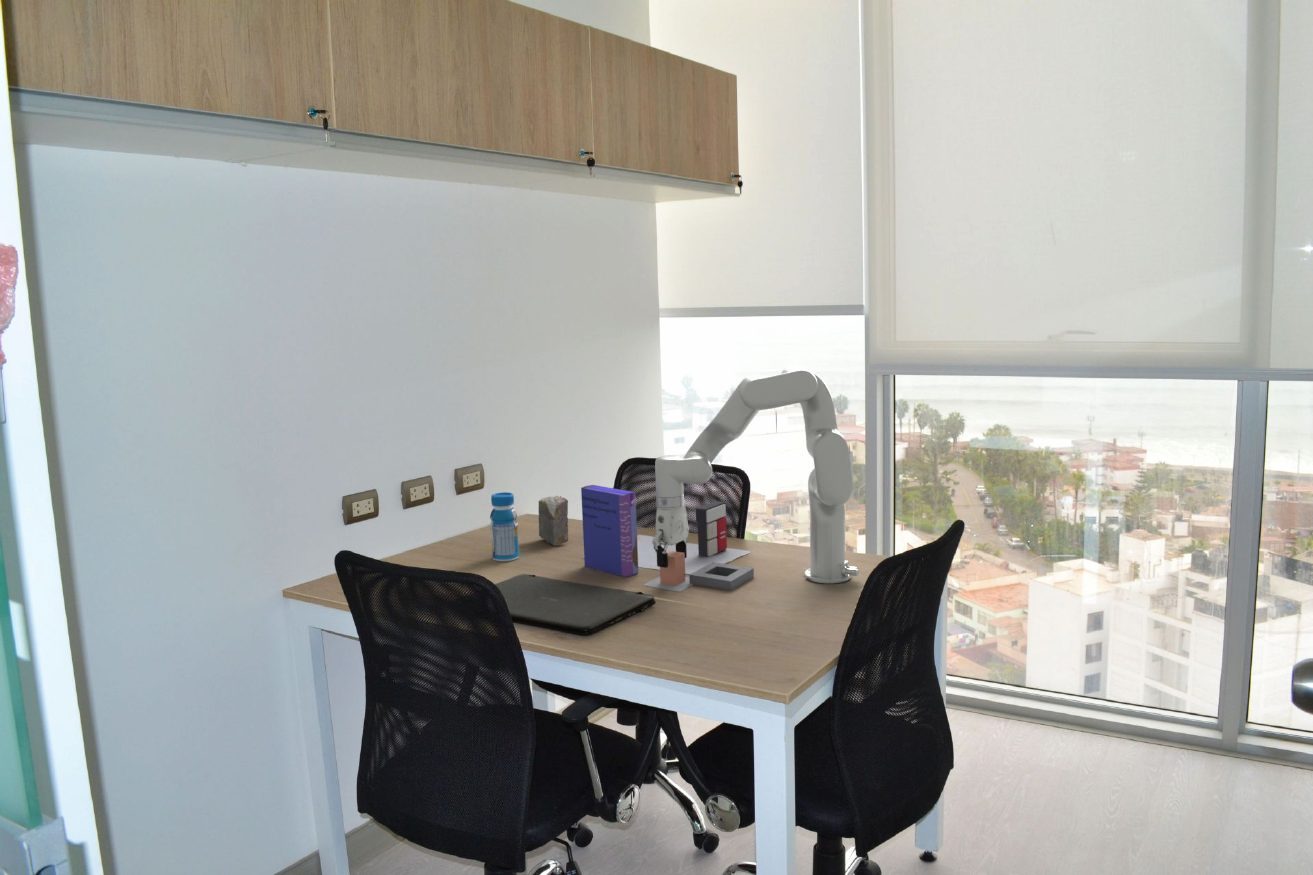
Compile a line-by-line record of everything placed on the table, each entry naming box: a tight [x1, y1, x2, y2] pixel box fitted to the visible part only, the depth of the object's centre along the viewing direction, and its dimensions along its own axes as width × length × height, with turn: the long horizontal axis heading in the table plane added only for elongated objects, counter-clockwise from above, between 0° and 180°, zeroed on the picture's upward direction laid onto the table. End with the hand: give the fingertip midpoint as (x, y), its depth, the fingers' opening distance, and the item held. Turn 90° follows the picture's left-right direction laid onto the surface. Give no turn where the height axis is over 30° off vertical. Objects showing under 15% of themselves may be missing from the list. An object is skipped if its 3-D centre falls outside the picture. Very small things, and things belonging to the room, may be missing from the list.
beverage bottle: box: [489, 492, 520, 562], centre depth 297 cm, size 8×8×20 cm
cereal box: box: [580, 484, 639, 578], centre depth 281 cm, size 17×5×24 cm, turn 47°
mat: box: [642, 575, 695, 593], centre depth 269 cm, size 12×12×1 cm
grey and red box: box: [695, 500, 728, 558], centre depth 296 cm, size 11×4×15 cm, turn 143°
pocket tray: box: [688, 561, 755, 591], centre depth 269 cm, size 13×13×3 cm
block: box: [659, 550, 686, 586], centre depth 268 cm, size 5×5×8 cm
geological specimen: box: [538, 495, 569, 546], centre depth 314 cm, size 11×6×15 cm, turn 33°
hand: (672, 562), depth 268 cm, fingers open, 9 cm apart
